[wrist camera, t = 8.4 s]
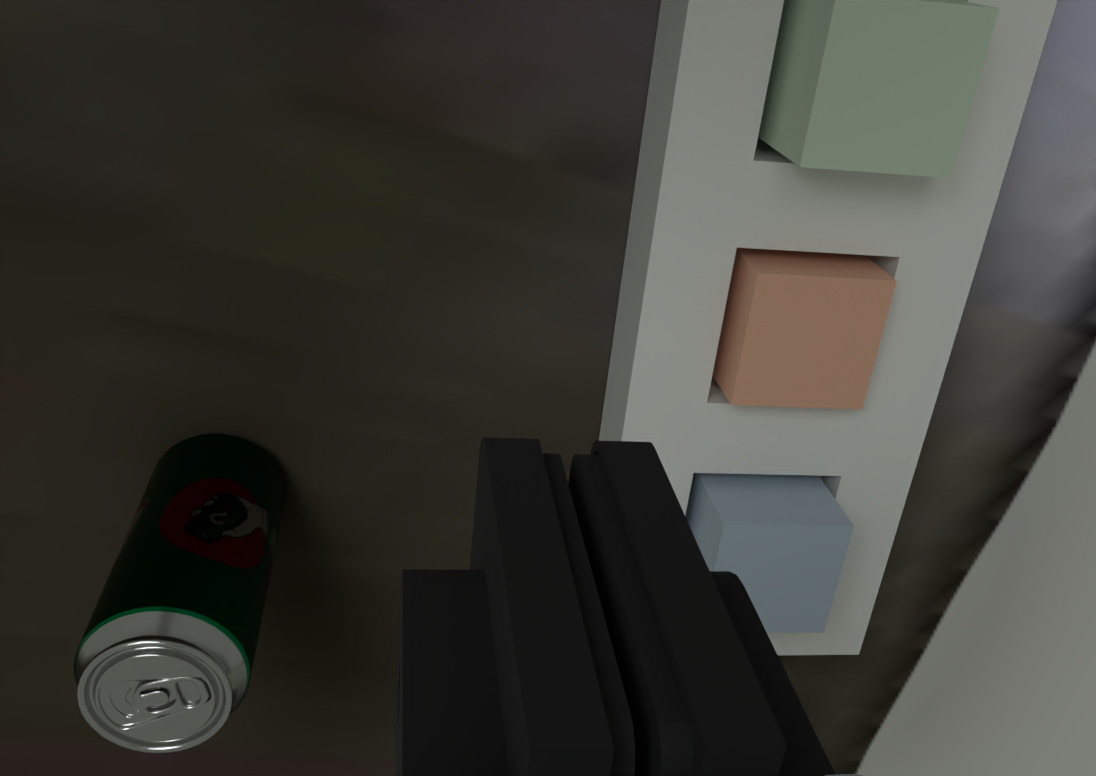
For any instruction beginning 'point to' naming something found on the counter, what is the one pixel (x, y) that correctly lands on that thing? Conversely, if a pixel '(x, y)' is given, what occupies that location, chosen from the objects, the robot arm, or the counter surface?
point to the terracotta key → (801, 328)
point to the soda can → (184, 598)
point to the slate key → (773, 542)
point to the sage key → (875, 83)
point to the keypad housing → (796, 225)
